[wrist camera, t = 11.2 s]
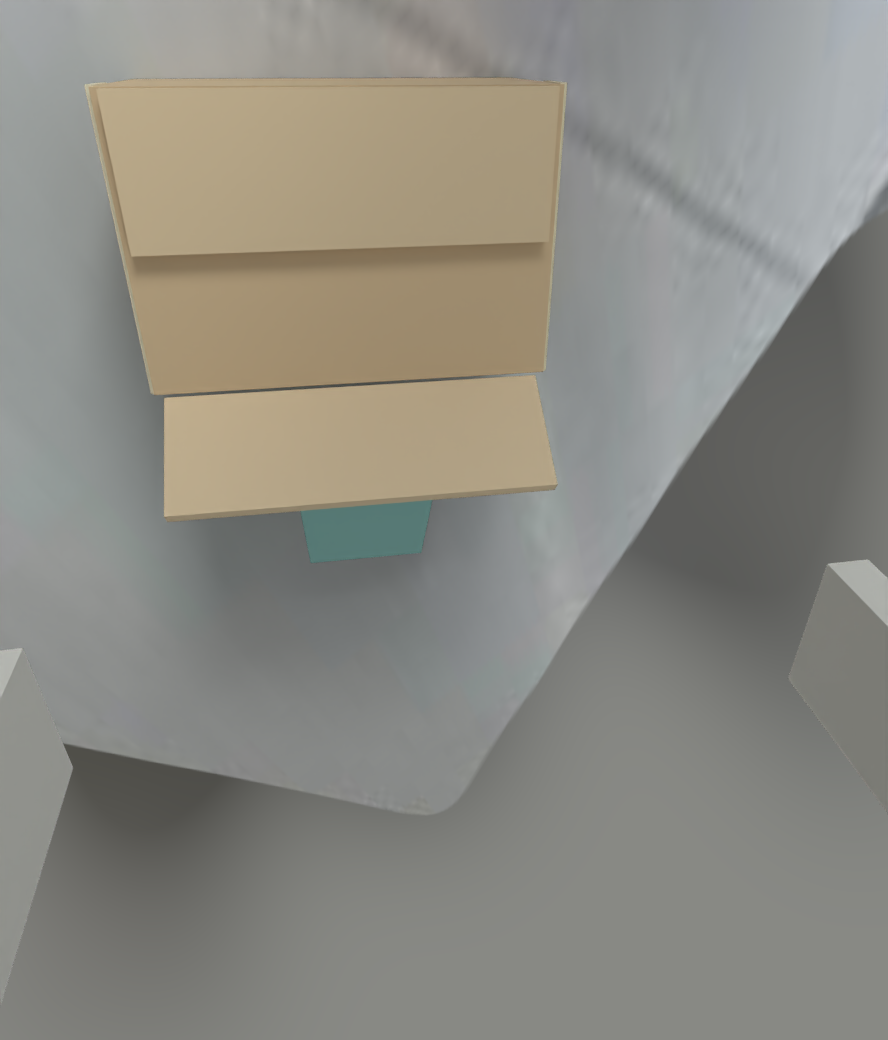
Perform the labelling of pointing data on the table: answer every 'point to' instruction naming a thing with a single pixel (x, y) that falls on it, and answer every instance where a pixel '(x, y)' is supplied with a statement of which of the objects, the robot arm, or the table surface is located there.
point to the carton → (333, 226)
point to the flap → (354, 457)
